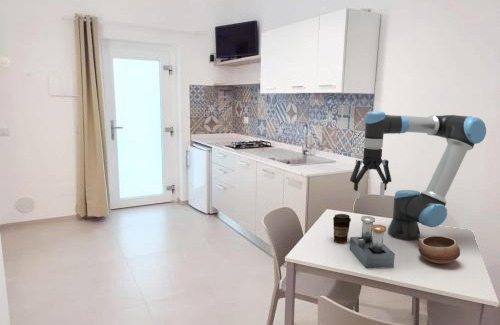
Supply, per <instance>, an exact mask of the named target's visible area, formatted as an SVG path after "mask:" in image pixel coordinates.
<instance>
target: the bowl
mask: <svg viewBox="0 0 500 325" xmlns="http://www.w3.org/2000/svg"><path fill="white" fill-rule="evenodd" d="M417 246H418V252H419V254H420V255H421V257H422V258H424V259H425V260H427V261H429V262H431V263H434V264H448V263H452V262H455V261H456V260H457V259H458V258H459V257H460V256H461V251H460V246H459V244H458V242H457V241H456V240H455V239H454V238H451V237H449V236H446V235H429V236H426V237H423V238H419V239H418V242H417Z"/></svg>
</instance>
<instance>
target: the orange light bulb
mask: <svg viewBox="0 0 500 325" xmlns="http://www.w3.org/2000/svg"><path fill="white" fill-rule="evenodd" d="M371 230H372V247H371V250H372V251H374V252H382V249H383V244H384V236H385V235H384V234H385V232H386V231H387V227H386V226H385V225H383V224H373V225H372V226H371Z"/></svg>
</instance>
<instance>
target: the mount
mask: <svg viewBox="0 0 500 325" xmlns="http://www.w3.org/2000/svg"><path fill="white" fill-rule="evenodd" d="M361 237H362V236H350V237H349V238H350V239H349V250H350V251H351V253H352V254H353V256H354V257H355V258H356V259H357V260H358V261H359V263H360V264H361V265H362V266H363V267H364V268H365V269H389V268H394V267H395V260H396V259H395V256H396V254H395V252H393V251H392V250H391V249H390V248H389V247H388V246H386V244H384V243H383V249H382V252H374V251H372V250H371V247H372V241H370V242H366V241H365V246H364V247H361V246H358V239H361Z"/></svg>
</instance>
